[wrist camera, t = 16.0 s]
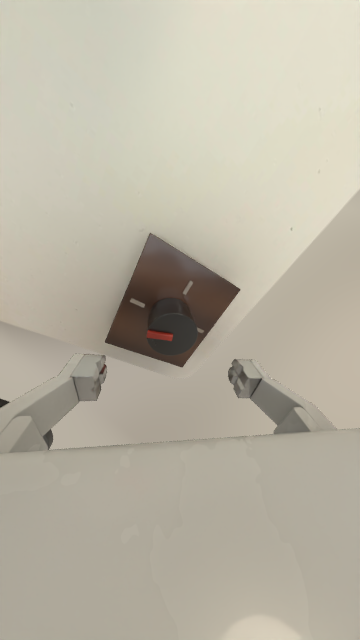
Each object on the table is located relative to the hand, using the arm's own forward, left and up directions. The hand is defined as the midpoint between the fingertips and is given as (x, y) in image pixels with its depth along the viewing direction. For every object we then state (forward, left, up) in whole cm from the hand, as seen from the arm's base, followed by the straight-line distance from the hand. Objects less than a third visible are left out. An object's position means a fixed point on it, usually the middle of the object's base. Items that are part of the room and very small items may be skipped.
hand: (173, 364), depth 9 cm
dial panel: (0, 0, -10) cm, 10 cm away
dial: (0, 0, -7) cm, 7 cm away
